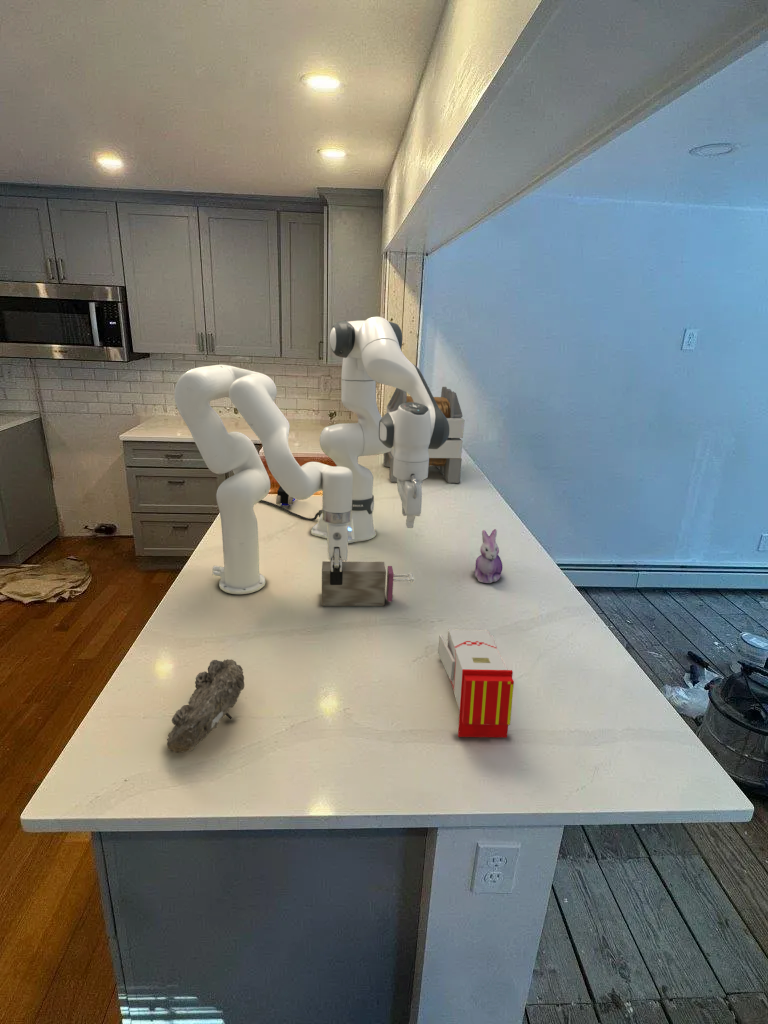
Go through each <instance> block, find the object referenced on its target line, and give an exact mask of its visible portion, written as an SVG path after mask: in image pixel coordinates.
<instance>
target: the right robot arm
mask: <svg viewBox="0 0 768 1024" xmlns="http://www.w3.org/2000/svg"><path fill="white" fill-rule="evenodd" d="M329 333H330V334H329V345H330V348H331V352H332V353H333V354H334V355H335V356H336V357H339V358H342V363H341V375H340V376H341V377H340V379H341V381H340V382H341V383H340V384H341V385H340V386H341V387H340V388H341V392H340V394H341V395H340V397H341V398H340V399H341V404H342V405H343V407H344V408H345V409H346V410H348V411H349V412H352V413H353V414H356V416H357V422H348V423H346V422H345V423H335V424H331V425H327V426H324V428H322V430H321V432H320V435H319V446H320V449H321V450H322V452H323V454H325V455H326V456H327V457H328V458H330V459H331V460H332V462H334V464H335V466H341V467H346V468H349V469H350V470H351V471H352V474H353V489H352V521H351V523H349V524H348V544H352V543H357V542H365V541H368V540H372V539H373V538H375V537H376V535H377V532H376V528H375V523H374V513H373V512H374V509H375V496H374V474H373V472H372V471H371V469H369V468H368V467H366V466H364V465H362V464H359V457H368V456H369V457H370V456H380V455H384V453H387V452H390V451H391V450H392V449H395V454H394V462H393V476H394V477H396V478H397V482H396V486H397V493H398V496H399V498H400V501H401V514H402V516H403V517H406V519H405V526H406V528H407V529H413V528H414V527H415V520H416V517H420V516H421V514H422V501H423V489H422V484H423V481H424V480H425V479H428V477H429V467H430V466H429V454H428V449H438V448H439V447H441V446H442V445H443V444H444V443H445V442H446V440H447V439H448V437H449V423H448V421H447V419H446V417H445V415H444V414H443V413H442V411H441V410H440V409H439V407H438V405H437V403H436V401H435V399H434V397H435V396H434V395H433V394H432V391H431V388H430V387H429V385H428V383H427V381H426V379H425V377H424V375H423V374H422V371H421V370H420V368H419V367H418V366H416V364H414V363H412V362H411V361H410V360H409V359H408V358H407V357H406V356H405V354H404V353H403V351H402V346H403V332H402V329H401V327H400V326H399V324H397V323H396V322H393V321H389V320H387V319H386V318H384V317H383V316H372V317H369V318H367V319H365V320H350V321H349V320H348V321H347V320H341V321H337V322H335V323H334V324H333V325H332V326H331V330H330V332H329ZM377 383H378V384H381V385H384V386H389V387H392V388H395V389H396V388H398V389H401V390H403V391H405V392H406V393H407V394H408V396H411V397H412V399H413V401H414V402H407V403H403V404H401V405H400V406H399V407H398V410H396V411H393V412H389V413H385V414H383V416H382V415H381V414H380V411H379V408H378V403H377ZM258 503H262V504H266V505H270V506H273V507H275V508H277V509H280V510H281V511H284V512H285V513H287V514H290V515H292V516H294V517H297V518H300V519H301V520H305V521H310V522H312V521H316V520H317V518H318V521H317V523H315V524H314V525H313V526H312V528H311V530H310V533H311V536H315V537H319V538H323V539H327V524H325V523H324V522H323V521H322V509H320V510H318V511H317V512H316V513H315V514H314V517H311V518H310V517H305V516H303V515H300V514H298V513H296V512H293V511H291V510H290V509H288V508H285V507H281V505H280V504H276V503H273V502H270V501H267V500H264V499H262V500H261V501H259V502H258Z"/></svg>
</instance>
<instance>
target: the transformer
mask: <svg viewBox="0 0 768 1024" xmlns="http://www.w3.org/2000/svg"><path fill="white" fill-rule="evenodd" d="M440 393H441V394H440V396H433V397H434V399H435V401H436V403H437V405H438V407H439V409H440V410H441V411H442V413H443V414H444V415H445V417H446V419H447V421H448V423H449V437H448V439H447V440H446V442H445V443H444V444H443V445H442V446H441V447H439V448H438V449H428V454H429V467H436V468H437V470H438V469H439V473H440V474H441V475H443V478H444V479H445V481H446V482H447V483H449V484H455V483H456V484H459V483H461V472H462V461H463V460H462V453H463V442H464V441H463V440H462V439H463V438H464V431H465V430H464V429H465V419H464V418H463V411H462V408H461V405H460V402H459V398H458V395H457V392H455V391H453V390H452V389H451V388H447V386H442V387H441V392H440ZM407 394H408V393H407V392H405V391H403V390H401V389H398V388H395V390H394V392H393V394H392V395H391V398H390V400H389V402H388V404H387V405H386V413H389V412H393V411H396V410H398V407H399V406H400V405H401V404H403V403H407V402H414V401H413V399H412V397H411V396H410V395H407ZM386 413H385V414H386ZM394 454H395V449H392V450H391V451H390V452H387V453H384V454H383V466H384V467H388V468H389V475H388V476H389V477H388V478H389V480H390V482H391V483H397V478H396V477H394V476H393V462H394Z"/></svg>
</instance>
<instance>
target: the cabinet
mask: <svg viewBox="0 0 768 1024" xmlns="http://www.w3.org/2000/svg"><path fill="white" fill-rule="evenodd" d="M333 565H334V562H333ZM339 565H340V562H339ZM330 570H331V561H330V560H328V561H325V560H324V561H323V560H322V563H321V606H322V607H324V606H325V607H329V606H330V607H336V606H337V607H339V606H341V607H342V606H343V607H347V606H348V607H349V606H350V607H353V606H354V607H355V606H356V607H357V606H358V607H360V606H361V607H371V606H372V607H375V606H376V607H378V606H379V607H382V606H383V607H384V606H385V602H386V601H385V599H386V584H387V569H386V564H385V561H342V570H343V579H342V585H330Z"/></svg>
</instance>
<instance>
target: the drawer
mask: <svg viewBox="0 0 768 1024" xmlns="http://www.w3.org/2000/svg"><path fill="white" fill-rule="evenodd" d="M396 582H397V583H398V582H401V583H403V582H406V583H407V582H408V583H410V584H414V583H415V578H414V574H413V573H412V572H408V573H394V569H393V565H387V569H386V586H385V596H386V599H387V602H393V593H394V592H393V591H394V583H396Z"/></svg>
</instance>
